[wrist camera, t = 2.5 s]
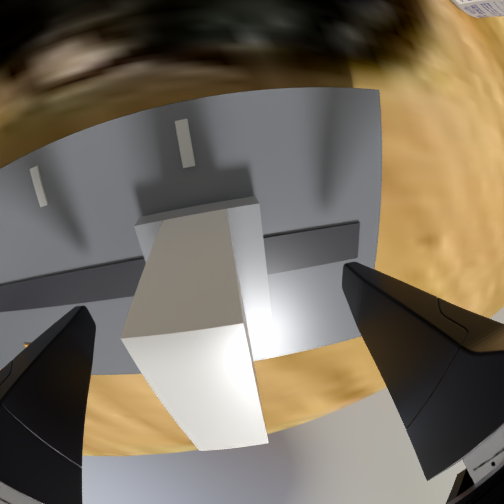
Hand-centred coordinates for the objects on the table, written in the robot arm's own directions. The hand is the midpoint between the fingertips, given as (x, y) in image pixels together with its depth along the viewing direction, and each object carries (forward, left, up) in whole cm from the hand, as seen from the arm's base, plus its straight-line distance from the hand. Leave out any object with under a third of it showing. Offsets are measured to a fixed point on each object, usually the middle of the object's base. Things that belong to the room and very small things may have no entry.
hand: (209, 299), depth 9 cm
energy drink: (+16, +15, -4) cm, 22 cm away
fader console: (-6, 0, -4) cm, 7 cm away
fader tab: (0, 0, -2) cm, 2 cm away
